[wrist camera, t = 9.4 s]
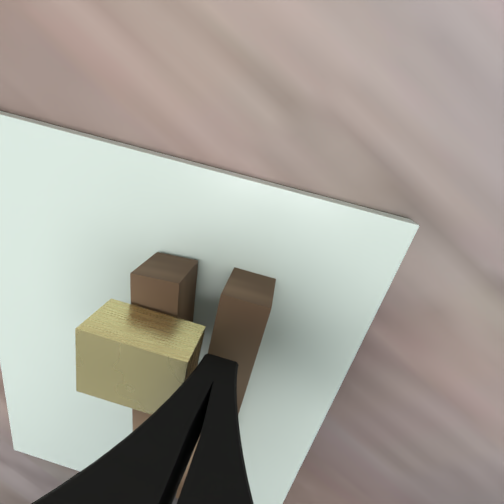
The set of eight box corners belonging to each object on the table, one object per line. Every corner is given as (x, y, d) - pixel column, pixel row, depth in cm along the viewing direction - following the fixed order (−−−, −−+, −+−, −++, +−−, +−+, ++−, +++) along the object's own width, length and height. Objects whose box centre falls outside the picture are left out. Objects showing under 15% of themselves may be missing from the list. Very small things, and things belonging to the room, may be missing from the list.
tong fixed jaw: (210, 493, 20) (196, 550, 17) (159, 477, 20) (137, 531, 17) (275, 278, 13) (270, 316, 10) (197, 256, 13) (170, 287, 10)
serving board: (269, 516, 21) (267, 532, 21) (25, 437, 22) (13, 449, 22) (410, 219, 12) (419, 225, 11) (-17, 106, 13) (-41, 103, 12)
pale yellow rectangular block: (194, 380, 12) (176, 422, 11) (108, 354, 13) (76, 391, 11) (205, 326, 11) (187, 362, 9) (111, 298, 11) (75, 328, 10)
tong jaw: (181, 454, 18) (166, 495, 16) (152, 446, 19) (133, 485, 16) (198, 260, 13) (179, 283, 11) (157, 251, 13) (130, 273, 11)
